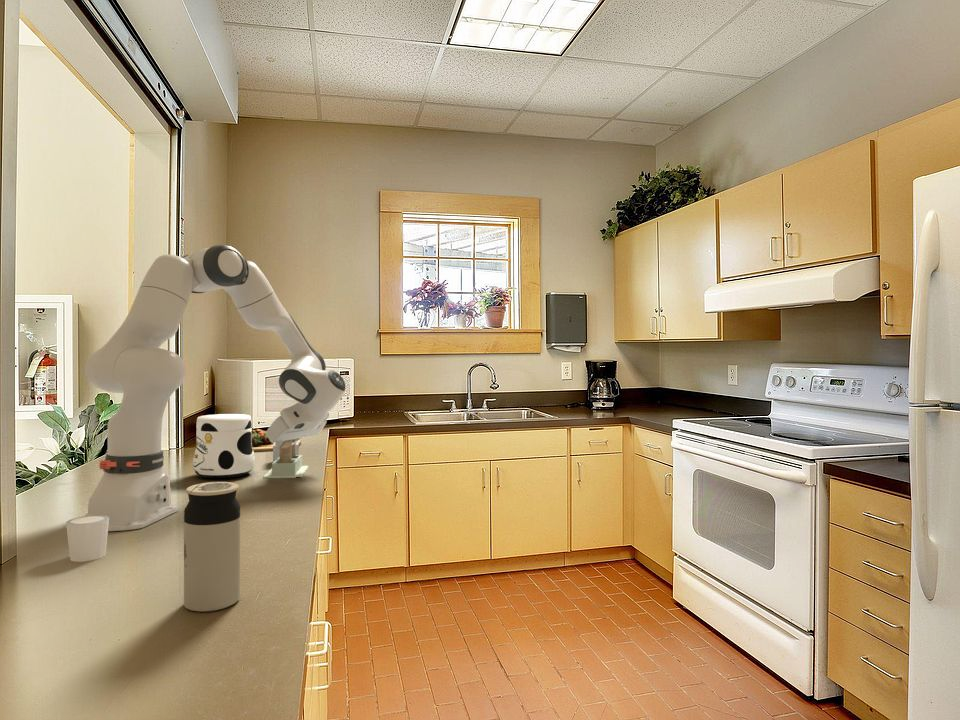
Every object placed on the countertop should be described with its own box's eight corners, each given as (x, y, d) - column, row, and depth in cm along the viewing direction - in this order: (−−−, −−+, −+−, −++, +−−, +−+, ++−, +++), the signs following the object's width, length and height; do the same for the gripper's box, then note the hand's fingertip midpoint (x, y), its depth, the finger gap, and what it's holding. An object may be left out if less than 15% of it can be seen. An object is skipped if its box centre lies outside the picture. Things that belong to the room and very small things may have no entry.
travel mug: (247, 592, 101) (247, 481, 100) (228, 613, 93) (229, 492, 92) (197, 592, 100) (197, 481, 100) (174, 613, 92) (174, 492, 92)
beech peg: (290, 467, 190) (290, 428, 190) (278, 467, 190) (278, 428, 190) (292, 464, 194) (292, 426, 194) (280, 465, 193) (280, 426, 193)
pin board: (301, 477, 188) (301, 436, 187) (263, 478, 186) (263, 436, 186) (308, 467, 204) (309, 429, 203) (273, 467, 202) (274, 429, 202)
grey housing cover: (298, 466, 206) (298, 444, 206) (273, 467, 203) (273, 445, 203) (297, 460, 215) (298, 440, 215) (273, 461, 213) (273, 441, 213)
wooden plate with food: (202, 445, 248) (202, 424, 247) (279, 437, 269) (279, 418, 269) (234, 458, 224) (234, 435, 224) (315, 448, 246) (315, 427, 245)
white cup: (101, 548, 121) (101, 512, 121) (115, 556, 117) (115, 518, 117) (60, 557, 116) (60, 519, 116) (73, 565, 112) (73, 526, 112)
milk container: (179, 479, 184) (179, 418, 184) (221, 468, 201) (221, 412, 200) (227, 483, 179) (227, 421, 178) (266, 472, 195) (266, 415, 195)
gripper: (326, 404, 197) (302, 432, 202) (277, 410, 179) (253, 441, 184) (337, 419, 196) (313, 447, 200) (289, 426, 177) (264, 457, 182)
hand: (284, 444), depth 192 cm, fingers closed on beech peg, 4 cm apart
